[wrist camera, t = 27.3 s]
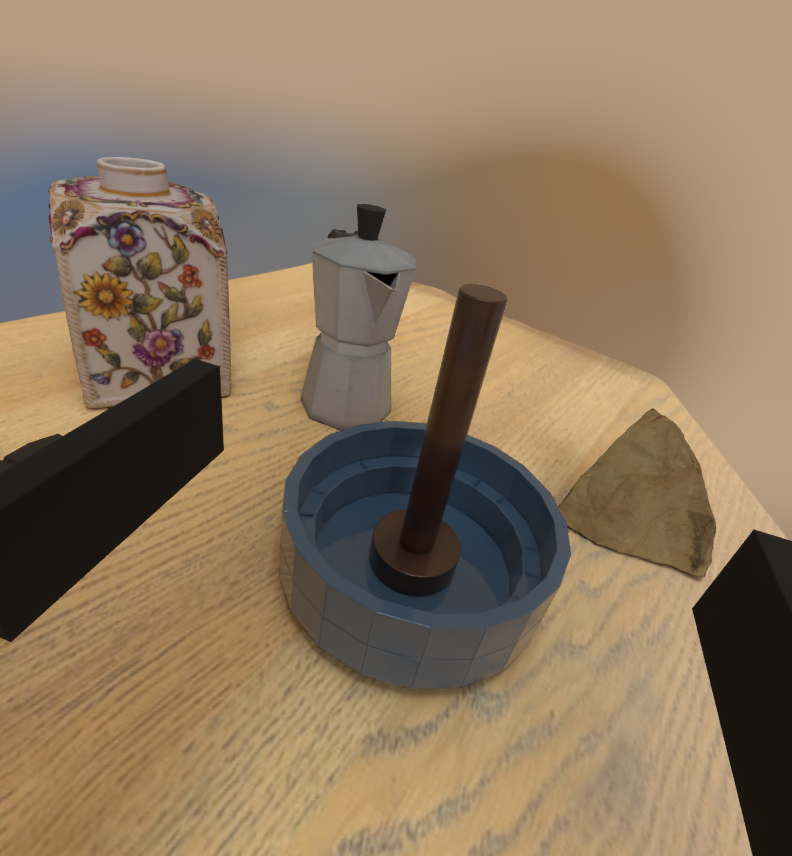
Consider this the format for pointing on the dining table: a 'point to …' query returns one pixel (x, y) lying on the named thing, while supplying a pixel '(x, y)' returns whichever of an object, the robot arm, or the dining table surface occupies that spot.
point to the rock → (646, 498)
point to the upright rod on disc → (440, 455)
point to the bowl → (418, 615)
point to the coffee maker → (355, 323)
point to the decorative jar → (139, 277)
